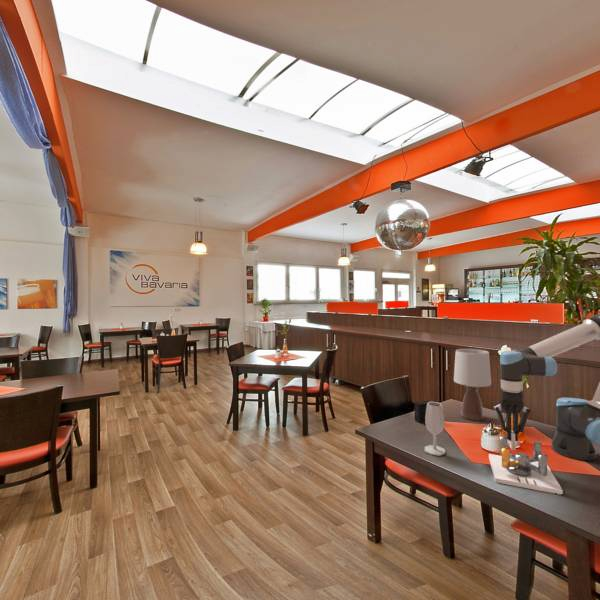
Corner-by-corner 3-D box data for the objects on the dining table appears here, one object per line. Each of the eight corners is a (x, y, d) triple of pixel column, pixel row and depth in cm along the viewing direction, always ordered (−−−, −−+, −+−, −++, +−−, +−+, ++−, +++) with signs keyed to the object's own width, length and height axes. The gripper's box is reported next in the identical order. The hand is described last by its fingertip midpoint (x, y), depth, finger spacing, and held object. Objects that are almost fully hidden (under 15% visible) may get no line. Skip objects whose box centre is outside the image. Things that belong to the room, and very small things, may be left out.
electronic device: (414, 420, 181) (414, 402, 181) (429, 418, 184) (429, 400, 184) (419, 423, 177) (419, 404, 177) (435, 420, 180) (434, 402, 180)
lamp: (492, 414, 188) (492, 349, 187) (490, 426, 172) (490, 355, 171) (456, 409, 198) (455, 347, 197) (451, 419, 182) (451, 352, 181)
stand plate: (546, 466, 132) (546, 462, 132) (562, 494, 113) (562, 489, 113) (488, 457, 140) (488, 453, 140) (495, 482, 121) (495, 477, 121)
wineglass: (428, 445, 152) (427, 399, 151) (448, 450, 146) (447, 403, 146) (421, 452, 145) (421, 404, 144) (442, 458, 139) (441, 408, 139)
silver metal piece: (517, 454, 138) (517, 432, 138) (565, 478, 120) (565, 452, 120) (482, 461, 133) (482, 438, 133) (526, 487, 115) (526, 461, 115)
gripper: (525, 388, 136) (526, 445, 136) (491, 386, 139) (491, 443, 139) (533, 393, 128) (534, 454, 129) (496, 391, 132) (497, 451, 132)
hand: (512, 448), depth 134 cm, fingers closed
